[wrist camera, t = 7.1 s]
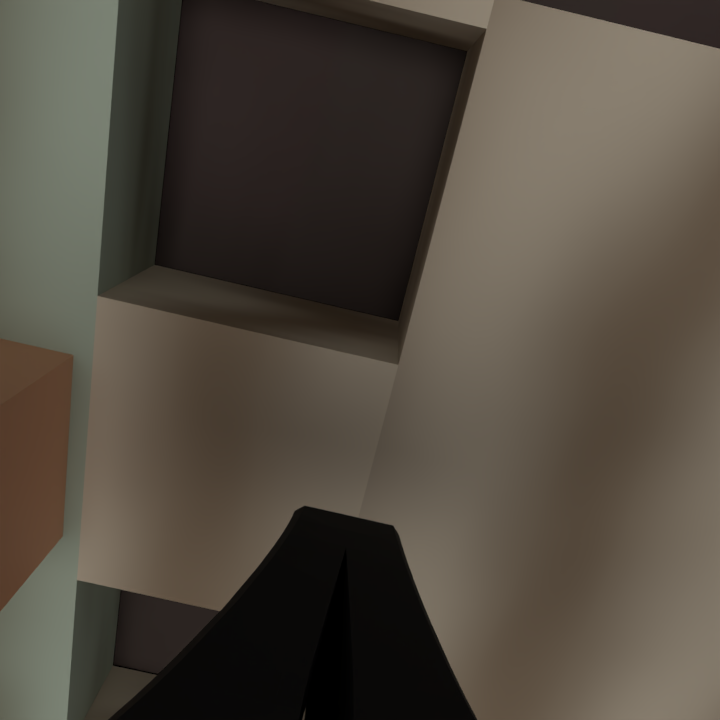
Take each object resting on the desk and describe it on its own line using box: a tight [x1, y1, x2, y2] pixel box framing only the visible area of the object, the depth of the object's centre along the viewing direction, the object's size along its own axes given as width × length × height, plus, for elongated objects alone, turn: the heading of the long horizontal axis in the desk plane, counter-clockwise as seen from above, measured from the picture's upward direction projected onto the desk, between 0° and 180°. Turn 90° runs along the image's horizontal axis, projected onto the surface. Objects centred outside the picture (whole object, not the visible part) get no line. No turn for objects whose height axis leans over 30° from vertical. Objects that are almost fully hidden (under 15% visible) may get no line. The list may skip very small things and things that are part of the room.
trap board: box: [0, 0, 720, 720], centre depth 14 cm, size 22×20×4 cm
